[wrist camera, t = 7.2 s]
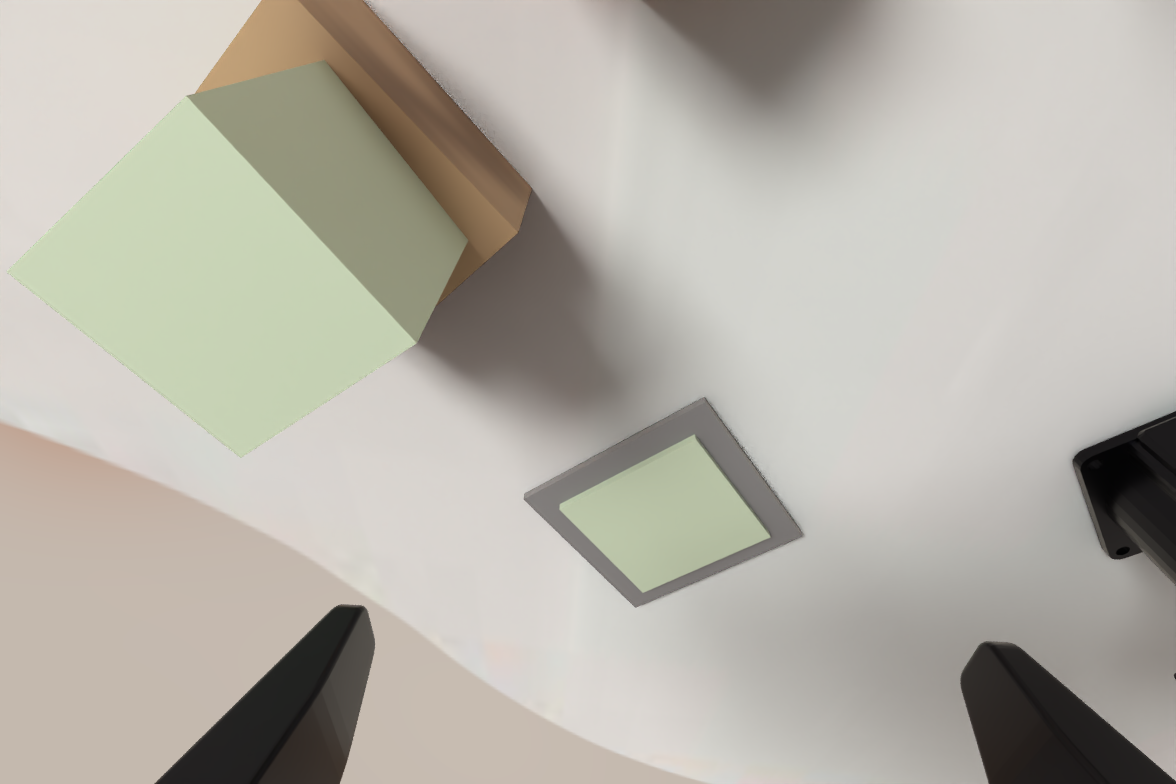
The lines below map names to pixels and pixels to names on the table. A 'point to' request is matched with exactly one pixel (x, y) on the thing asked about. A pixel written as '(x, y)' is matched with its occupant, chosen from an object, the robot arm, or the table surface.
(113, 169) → the sage block
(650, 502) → the tile
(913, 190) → the table surface
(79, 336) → the table surface
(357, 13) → the walnut base
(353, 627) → the robot arm
